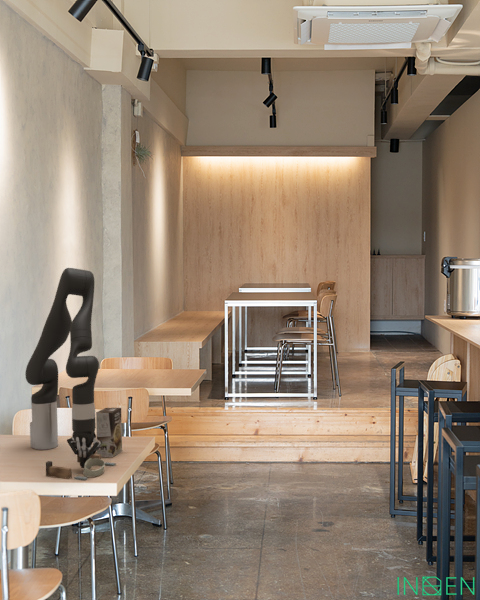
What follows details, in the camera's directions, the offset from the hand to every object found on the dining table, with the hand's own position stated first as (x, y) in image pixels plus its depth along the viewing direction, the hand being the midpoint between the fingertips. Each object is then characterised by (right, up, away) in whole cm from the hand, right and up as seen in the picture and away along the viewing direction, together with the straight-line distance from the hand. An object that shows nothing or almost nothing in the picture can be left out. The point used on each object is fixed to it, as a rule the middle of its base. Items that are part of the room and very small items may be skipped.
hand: (84, 467), depth 214 cm
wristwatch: (+4, -1, -3) cm, 5 cm away
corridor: (-4, -1, +2) cm, 4 cm away
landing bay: (+4, -1, -2) cm, 4 cm away
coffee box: (+4, 0, +20) cm, 20 cm away
